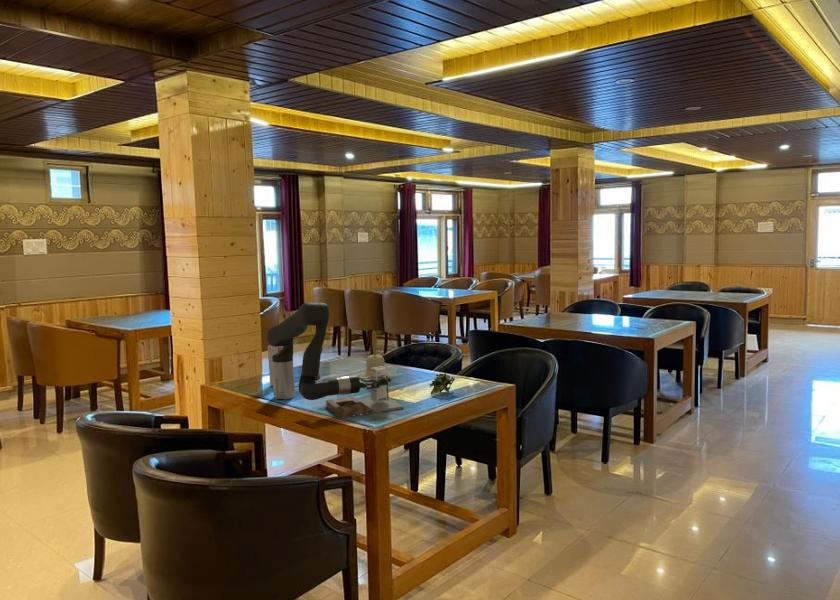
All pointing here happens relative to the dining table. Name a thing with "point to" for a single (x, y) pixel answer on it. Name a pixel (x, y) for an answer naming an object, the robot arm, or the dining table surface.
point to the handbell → (374, 358)
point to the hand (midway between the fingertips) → (384, 380)
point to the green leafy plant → (441, 383)
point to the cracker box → (271, 352)
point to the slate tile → (381, 405)
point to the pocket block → (346, 406)
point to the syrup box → (382, 391)
